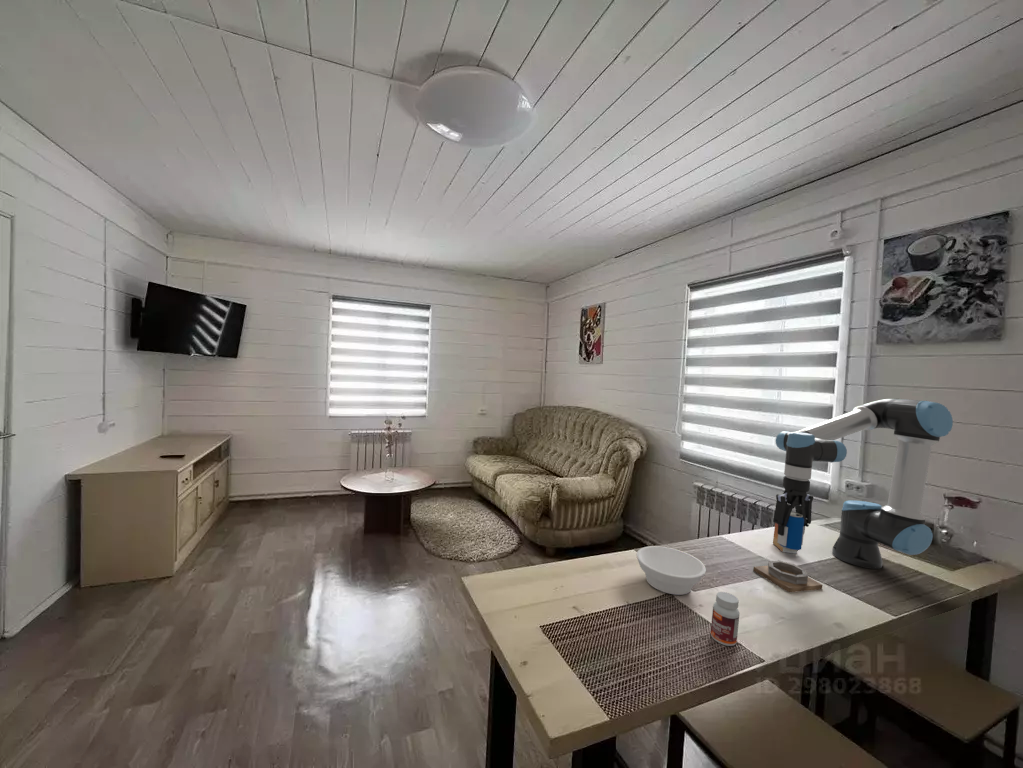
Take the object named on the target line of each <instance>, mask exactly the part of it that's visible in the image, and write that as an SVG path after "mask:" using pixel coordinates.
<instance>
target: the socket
mask: <svg viewBox="0 0 1023 768" xmlns="http://www.w3.org/2000/svg"><path fill="white" fill-rule="evenodd" d="M753 572H755V573H757V574H758V575H759V576H761V577H763V578H765V579H766V580H767V581H769V582H771V583H772V584H774V585H776V586H777V587H779V588H781V589H783V590H784V591H786V592H787V593H797V592H809V591H818V590H823V584H822V583H819V582H818V581H817V580H814V579H812V578H811V577H809V575H808V572H807V570H806V569H804V568H802V567H800V566H799V565H796V564H794V563H791V562H786V561H783V560H779V559H778V560H768V564H767V565H760V566H757V565H755V566H753Z"/></svg>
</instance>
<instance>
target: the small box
mask: <svg viewBox="0 0 1023 768" xmlns="http://www.w3.org/2000/svg"><path fill="white" fill-rule="evenodd" d="M773 530H774V531H773V538H772V539H773V540H772V544H773V546H775V547H777V548H778V550H780V551H781V552H782V553H789V554H795V555H796V554H798V551H790V550H787V549H784V548H782V547H781V545H780V544H779V543H777V541H778V533H777V532H778V524H776V523H774V529H773Z"/></svg>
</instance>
